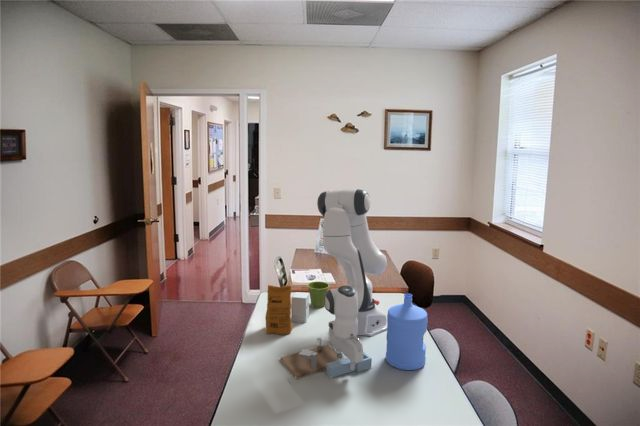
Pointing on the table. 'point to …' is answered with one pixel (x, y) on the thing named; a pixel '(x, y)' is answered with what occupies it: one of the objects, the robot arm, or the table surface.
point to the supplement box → (300, 307)
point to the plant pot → (318, 293)
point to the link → (347, 366)
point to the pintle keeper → (312, 354)
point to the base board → (309, 361)
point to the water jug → (406, 335)
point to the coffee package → (278, 310)
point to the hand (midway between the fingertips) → (345, 362)
